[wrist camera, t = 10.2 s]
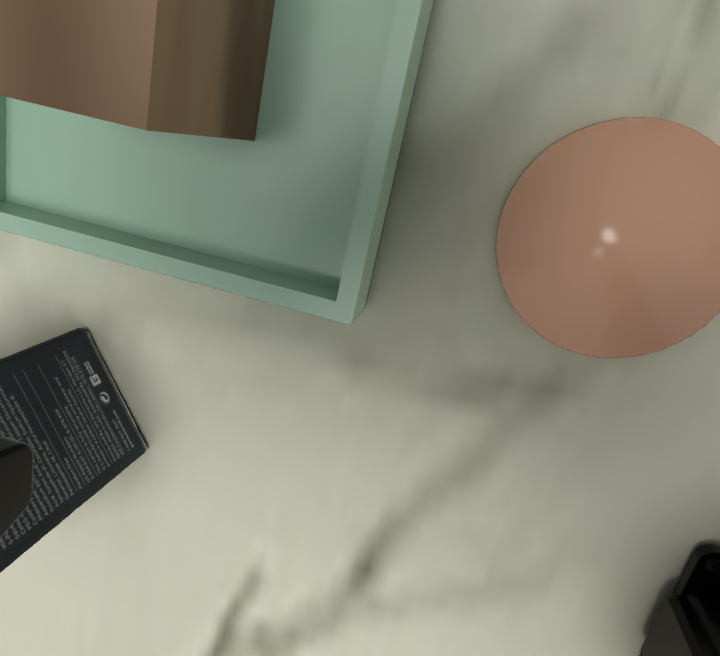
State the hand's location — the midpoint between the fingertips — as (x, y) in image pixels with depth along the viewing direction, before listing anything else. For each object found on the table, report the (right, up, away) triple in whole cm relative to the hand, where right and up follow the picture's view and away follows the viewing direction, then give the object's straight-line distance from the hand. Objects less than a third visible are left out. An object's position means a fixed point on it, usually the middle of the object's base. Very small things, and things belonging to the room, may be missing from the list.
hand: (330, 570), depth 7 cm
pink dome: (+8, +6, +10) cm, 14 cm away
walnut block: (-5, +12, +10) cm, 16 cm away
